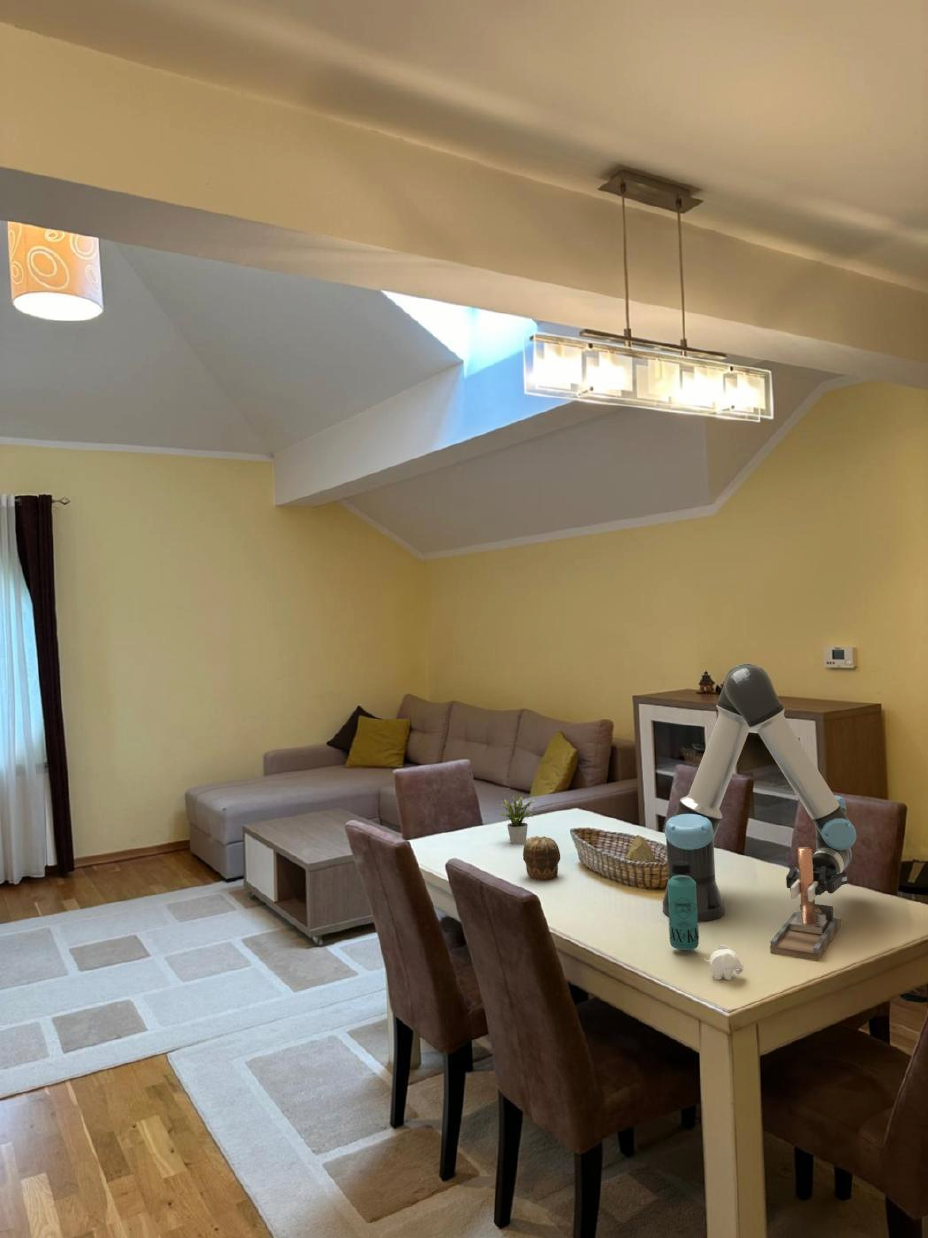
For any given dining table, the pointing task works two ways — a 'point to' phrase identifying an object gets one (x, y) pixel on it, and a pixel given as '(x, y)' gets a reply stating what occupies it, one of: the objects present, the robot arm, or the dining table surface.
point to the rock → (640, 850)
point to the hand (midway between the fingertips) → (801, 894)
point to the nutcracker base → (805, 937)
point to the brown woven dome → (541, 858)
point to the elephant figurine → (724, 963)
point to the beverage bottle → (682, 908)
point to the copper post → (807, 916)
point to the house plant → (517, 821)
